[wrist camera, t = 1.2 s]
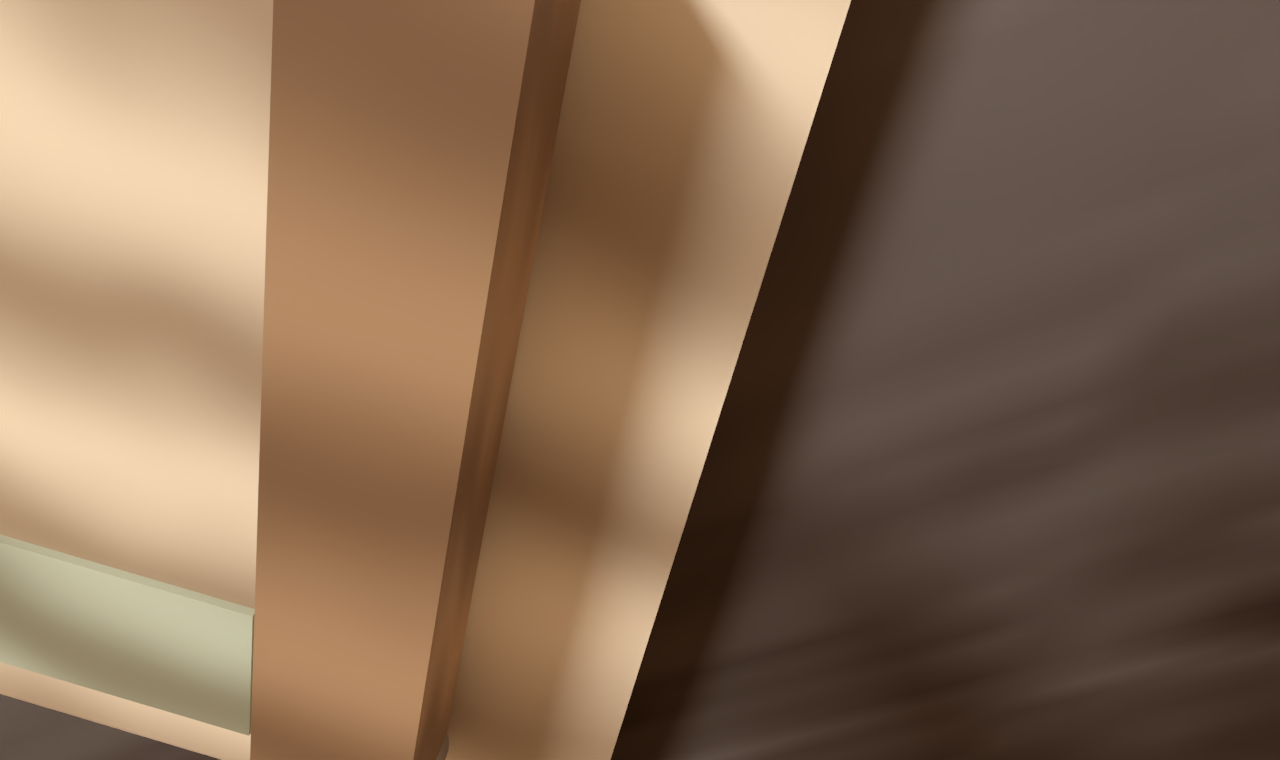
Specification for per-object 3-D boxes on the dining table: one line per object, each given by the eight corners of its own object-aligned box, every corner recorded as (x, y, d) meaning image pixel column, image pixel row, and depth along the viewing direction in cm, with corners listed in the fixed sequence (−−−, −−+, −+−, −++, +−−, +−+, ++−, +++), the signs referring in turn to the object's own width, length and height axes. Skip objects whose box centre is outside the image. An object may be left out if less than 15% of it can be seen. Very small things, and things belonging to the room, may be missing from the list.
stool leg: (440, 793, 26) (392, 917, 24) (303, 752, 26) (241, 871, 24) (610, -118, 15) (553, -62, 13) (370, -182, 15) (269, -139, 13)
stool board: (594, 794, 29) (575, 873, 28) (-313, 526, 30) (-390, 585, 28) (907, -204, 16) (908, -178, 14) (-721, -637, 17) (-914, -665, 15)
